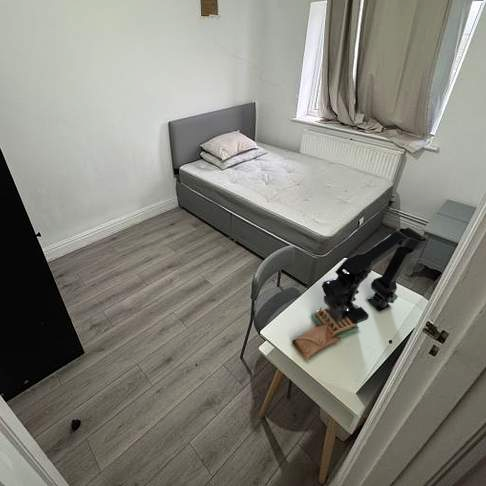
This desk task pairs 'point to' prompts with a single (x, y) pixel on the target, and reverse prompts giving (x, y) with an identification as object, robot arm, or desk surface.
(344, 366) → the desk surface
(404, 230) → the robot arm
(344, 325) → the wooden peg rack
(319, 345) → the sunglasses case
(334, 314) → the black box
